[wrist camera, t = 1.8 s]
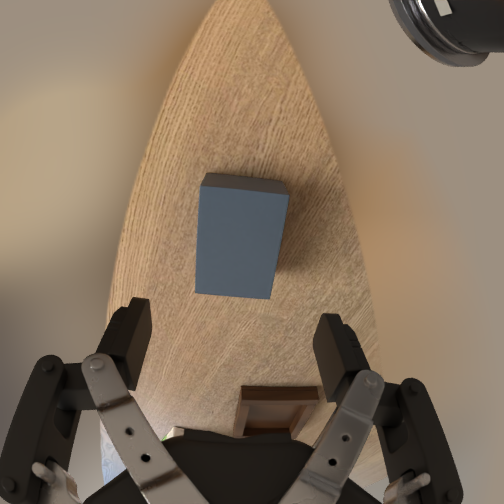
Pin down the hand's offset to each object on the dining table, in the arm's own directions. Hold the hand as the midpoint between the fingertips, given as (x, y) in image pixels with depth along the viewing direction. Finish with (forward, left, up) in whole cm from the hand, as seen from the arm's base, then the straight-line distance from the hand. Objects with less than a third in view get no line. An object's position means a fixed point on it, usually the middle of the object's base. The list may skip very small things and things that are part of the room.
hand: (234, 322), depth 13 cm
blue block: (0, 0, -11) cm, 11 cm away
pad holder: (+26, +7, -11) cm, 29 cm away
